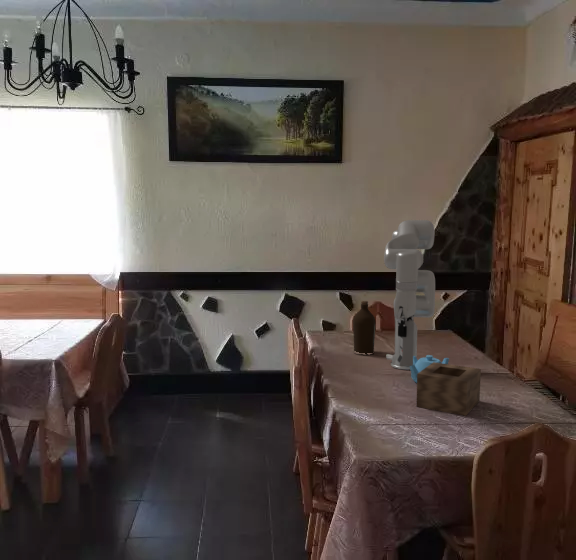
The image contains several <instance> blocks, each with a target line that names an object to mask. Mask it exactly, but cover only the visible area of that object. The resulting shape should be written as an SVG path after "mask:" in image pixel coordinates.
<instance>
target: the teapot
mask: <svg viewBox="0 0 576 560" xmlns="http://www.w3.org/2000/svg"><path fill="white" fill-rule="evenodd" d="M449 361H450V357H444V358H443V360H442V361H441V360H440V359H438V358H436V357H434V356H433V355H432V354H431V355H430V354H427V355H425V357H420V358H419V359H418V358H416V356H413V365H412V366H410V373H411V374H410V377H411V379H412V381H413V382H414V383H416V384H417V374H418V373H419V372H421V371H422V370H423V369H425V368H426V367H428V366H429V365H430V364H432V363H433V362H435V363H442V364H449Z"/></svg>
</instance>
